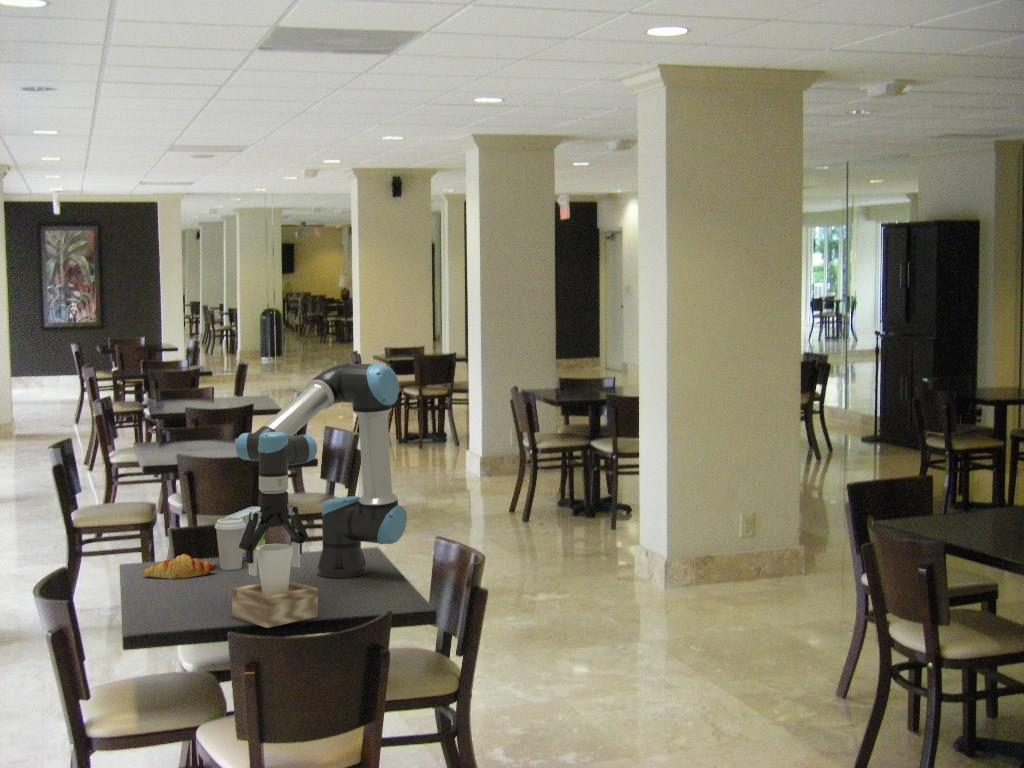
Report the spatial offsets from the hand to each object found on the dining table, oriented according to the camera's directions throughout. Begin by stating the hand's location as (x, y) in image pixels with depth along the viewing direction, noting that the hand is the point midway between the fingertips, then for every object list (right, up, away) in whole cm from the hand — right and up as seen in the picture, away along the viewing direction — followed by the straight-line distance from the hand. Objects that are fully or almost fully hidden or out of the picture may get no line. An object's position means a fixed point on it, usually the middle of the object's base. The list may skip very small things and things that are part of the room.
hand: (274, 571), depth 325 cm
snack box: (-24, -7, +74) cm, 78 cm away
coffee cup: (-25, -8, +58) cm, 64 cm away
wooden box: (0, -12, +1) cm, 12 cm away
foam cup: (0, -7, 0) cm, 7 cm away
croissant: (-38, -9, +48) cm, 62 cm away
